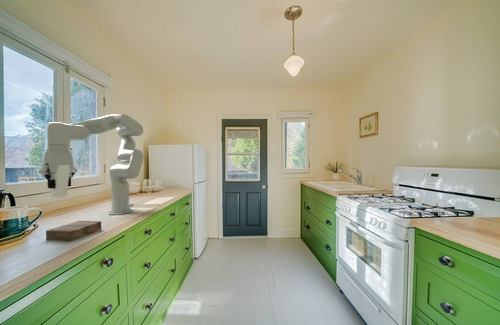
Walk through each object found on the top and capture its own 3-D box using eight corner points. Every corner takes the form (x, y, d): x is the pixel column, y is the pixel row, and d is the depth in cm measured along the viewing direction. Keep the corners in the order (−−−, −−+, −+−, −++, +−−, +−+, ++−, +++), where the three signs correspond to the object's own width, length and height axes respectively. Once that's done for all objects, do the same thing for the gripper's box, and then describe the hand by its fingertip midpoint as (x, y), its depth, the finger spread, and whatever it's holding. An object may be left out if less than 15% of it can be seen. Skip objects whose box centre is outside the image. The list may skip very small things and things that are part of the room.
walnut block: (79, 228, 95) (79, 220, 95) (101, 229, 93) (101, 221, 93) (46, 240, 81) (46, 230, 81) (70, 241, 80) (70, 231, 80)
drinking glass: (56, 198, 87) (57, 164, 87) (44, 197, 88) (45, 164, 88) (72, 195, 93) (73, 165, 94) (61, 195, 95) (62, 165, 95)
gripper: (71, 150, 100) (72, 185, 100) (29, 148, 83) (30, 189, 83) (84, 150, 99) (84, 185, 99) (44, 147, 82) (45, 190, 82)
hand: (59, 186), depth 91 cm, fingers closed on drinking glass, 6 cm apart
